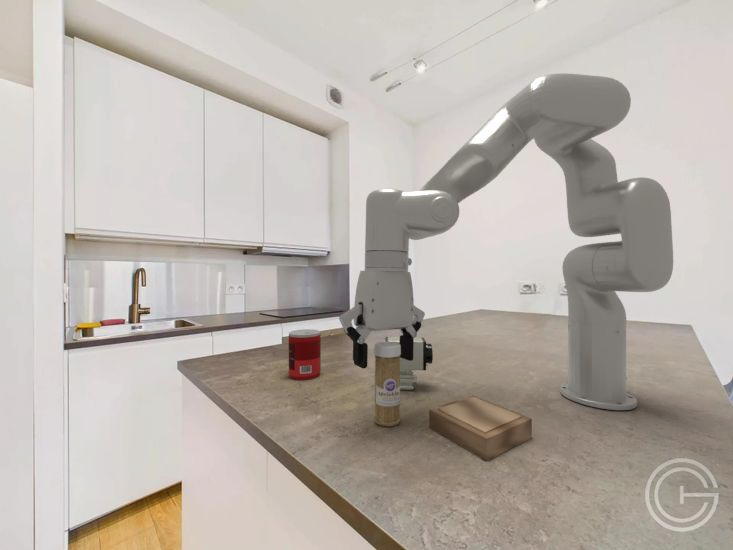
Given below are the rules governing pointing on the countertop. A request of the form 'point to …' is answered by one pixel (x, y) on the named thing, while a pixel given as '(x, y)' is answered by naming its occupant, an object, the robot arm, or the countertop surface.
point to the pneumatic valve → (413, 362)
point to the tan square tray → (480, 426)
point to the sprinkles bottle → (387, 383)
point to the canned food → (304, 354)
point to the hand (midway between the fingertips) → (384, 362)
